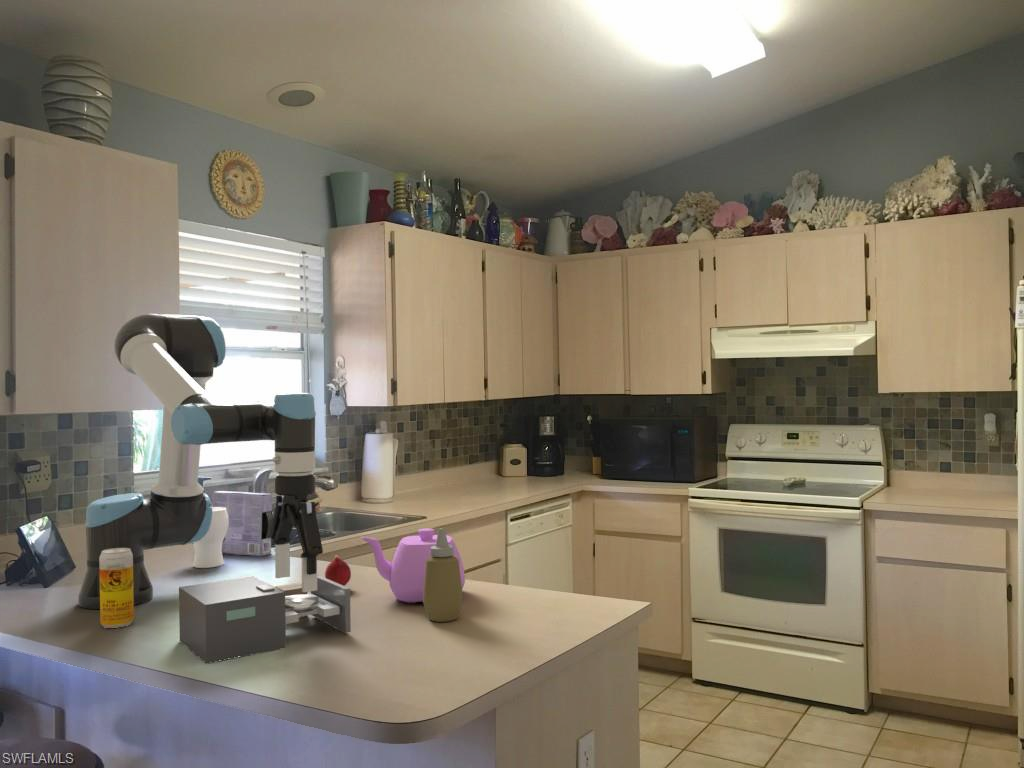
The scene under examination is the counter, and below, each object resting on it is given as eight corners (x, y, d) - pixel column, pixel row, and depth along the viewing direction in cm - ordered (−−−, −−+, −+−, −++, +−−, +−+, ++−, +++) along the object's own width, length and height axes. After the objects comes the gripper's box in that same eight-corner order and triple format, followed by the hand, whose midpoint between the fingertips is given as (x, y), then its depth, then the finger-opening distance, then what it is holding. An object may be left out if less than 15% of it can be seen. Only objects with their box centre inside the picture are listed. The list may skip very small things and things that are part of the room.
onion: (354, 587, 200) (353, 553, 200) (346, 593, 194) (346, 558, 194) (329, 587, 200) (329, 553, 200) (322, 593, 195) (321, 558, 195)
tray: (248, 626, 166) (247, 584, 166) (315, 614, 174) (315, 573, 174) (279, 646, 153) (278, 600, 153) (350, 631, 161) (349, 588, 161)
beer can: (101, 631, 166) (99, 554, 167) (100, 623, 172) (98, 549, 172) (135, 626, 169) (133, 551, 169) (132, 619, 175) (131, 546, 175)
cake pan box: (275, 553, 244) (274, 491, 244) (264, 557, 239) (263, 494, 239) (222, 550, 251) (221, 490, 251) (210, 553, 246) (209, 492, 247)
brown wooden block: (275, 615, 176) (274, 586, 176) (298, 611, 179) (298, 582, 179) (284, 620, 172) (283, 590, 172) (308, 616, 174) (307, 586, 174)
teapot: (462, 583, 202) (461, 519, 202) (467, 605, 181) (465, 534, 181) (365, 587, 200) (364, 522, 200) (358, 610, 179) (357, 538, 179)
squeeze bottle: (469, 614, 173) (468, 526, 173) (454, 625, 165) (452, 532, 166) (433, 612, 176) (431, 524, 176) (416, 622, 168) (414, 531, 168)
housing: (179, 640, 159) (178, 585, 159) (254, 627, 167) (253, 574, 167) (206, 663, 145) (205, 602, 145) (286, 648, 153) (285, 590, 153)
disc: (308, 600, 169) (308, 592, 169) (325, 608, 162) (325, 600, 162) (269, 607, 164) (269, 598, 164) (285, 615, 158) (285, 607, 158)
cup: (178, 568, 225) (177, 511, 226) (204, 560, 236) (203, 506, 236) (213, 570, 222) (212, 512, 222) (237, 562, 233) (236, 507, 233)
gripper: (253, 468, 171) (254, 574, 172) (301, 481, 151) (301, 600, 151) (289, 466, 176) (290, 569, 176) (340, 478, 156) (341, 594, 156)
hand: (295, 584), depth 164 cm, fingers open, 13 cm apart
